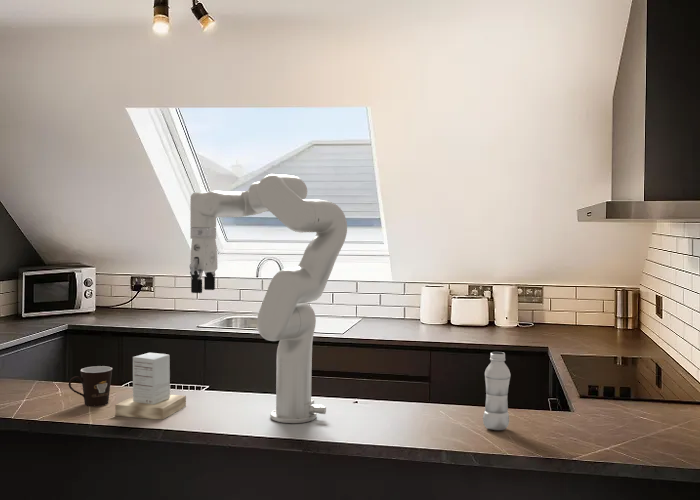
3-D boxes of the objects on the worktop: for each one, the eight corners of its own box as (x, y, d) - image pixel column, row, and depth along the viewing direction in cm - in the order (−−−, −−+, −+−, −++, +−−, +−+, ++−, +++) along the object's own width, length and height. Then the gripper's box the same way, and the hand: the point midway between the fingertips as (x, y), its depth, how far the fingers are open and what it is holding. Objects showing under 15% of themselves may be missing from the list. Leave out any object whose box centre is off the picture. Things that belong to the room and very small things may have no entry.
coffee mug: (112, 399, 209) (112, 365, 209) (112, 406, 201) (112, 371, 201) (70, 401, 206) (70, 367, 205) (68, 409, 197) (68, 373, 197)
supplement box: (149, 395, 202) (149, 351, 201) (170, 398, 199) (170, 354, 198) (131, 402, 195) (131, 356, 194) (153, 405, 192) (153, 358, 191)
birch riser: (185, 406, 203) (185, 395, 202) (162, 419, 189) (162, 408, 189) (141, 402, 206) (141, 392, 205) (115, 415, 192) (115, 404, 192)
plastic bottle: (480, 425, 188) (482, 350, 187) (506, 426, 187) (508, 351, 187) (484, 432, 181) (486, 355, 180) (511, 433, 181) (513, 355, 180)
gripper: (203, 234, 201) (203, 294, 202) (225, 233, 218) (225, 289, 219) (179, 234, 202) (179, 293, 203) (202, 233, 219) (202, 288, 220)
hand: (203, 291), depth 211 cm, fingers open, 9 cm apart
